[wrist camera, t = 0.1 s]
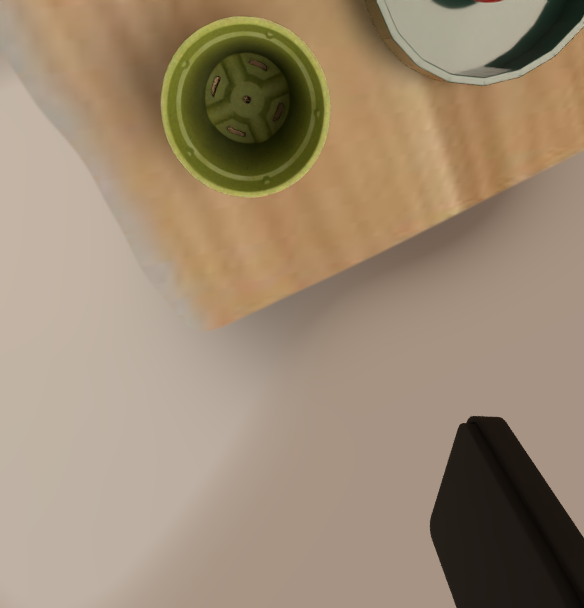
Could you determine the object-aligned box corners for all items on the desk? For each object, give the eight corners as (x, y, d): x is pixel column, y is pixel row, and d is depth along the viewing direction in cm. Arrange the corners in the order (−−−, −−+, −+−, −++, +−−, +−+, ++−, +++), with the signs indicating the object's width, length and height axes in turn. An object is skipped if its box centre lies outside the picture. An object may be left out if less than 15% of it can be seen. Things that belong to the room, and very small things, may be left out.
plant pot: (335, 54, 35) (357, 56, 27) (288, 184, 39) (297, 218, 31) (201, 0, 33) (185, -15, 25) (167, 142, 37) (143, 167, 29)
